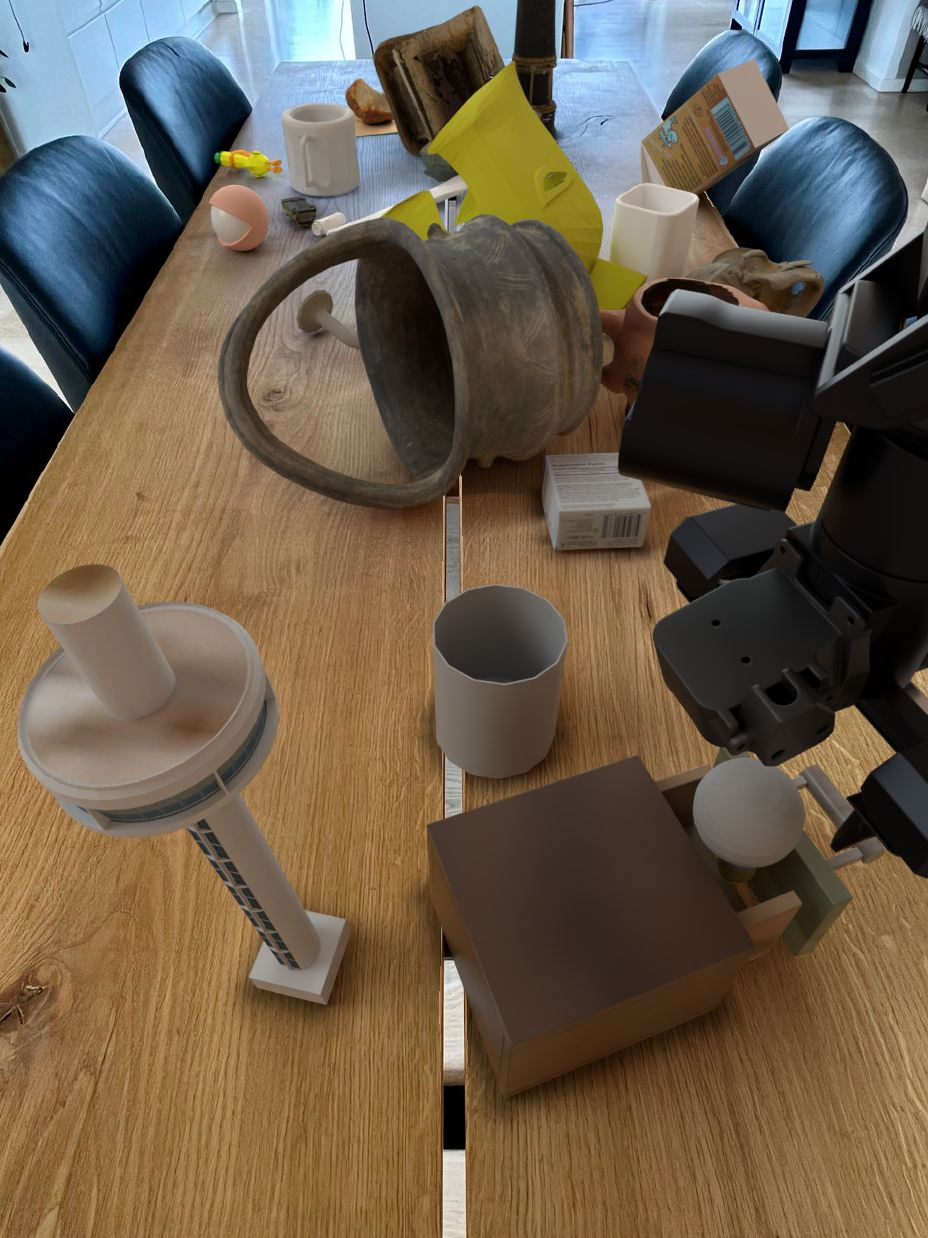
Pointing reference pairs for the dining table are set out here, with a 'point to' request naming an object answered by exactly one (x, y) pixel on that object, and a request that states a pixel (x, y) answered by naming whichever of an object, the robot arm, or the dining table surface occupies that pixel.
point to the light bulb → (748, 816)
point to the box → (593, 503)
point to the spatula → (438, 192)
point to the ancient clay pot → (441, 349)
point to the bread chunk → (369, 109)
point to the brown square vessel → (435, 74)
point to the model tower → (171, 750)
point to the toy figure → (248, 162)
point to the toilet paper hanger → (323, 318)
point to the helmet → (519, 182)
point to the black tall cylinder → (536, 56)
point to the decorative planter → (650, 328)
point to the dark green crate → (299, 210)
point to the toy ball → (238, 217)
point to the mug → (321, 148)
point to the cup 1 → (497, 679)
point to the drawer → (781, 867)
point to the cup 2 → (653, 230)
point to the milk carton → (713, 132)
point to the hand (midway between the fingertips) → (780, 768)
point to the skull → (765, 280)
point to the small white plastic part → (328, 223)
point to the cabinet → (580, 921)
